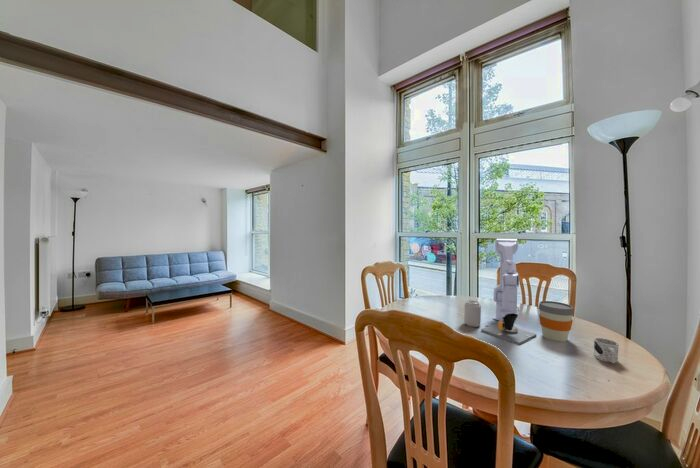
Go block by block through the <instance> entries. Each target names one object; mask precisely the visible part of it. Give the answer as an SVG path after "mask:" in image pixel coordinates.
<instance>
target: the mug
mask: <svg viewBox="0 0 700 468" xmlns="http://www.w3.org/2000/svg"><path fill="white" fill-rule="evenodd" d="M593 342H594V343H593V357H594V358H595V359H597V360H600V361H602V360H603V361H602V362H605V361H607V362H606V363H609V362H611V363H610V364H616V363H615V362H617V363H619V343H618V342H617V341H614V340H611V339H607V338H603V337H595V338H594V341H593Z"/></svg>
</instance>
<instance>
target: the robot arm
mask: <svg viewBox="0 0 700 468" xmlns="http://www.w3.org/2000/svg"><path fill="white" fill-rule="evenodd" d="M494 247H495V253H496V254H498V255H499V259H500V261H499V263H500V266H499V284H497V285H496V286H494V288H493V301H494V302H495V306H496V307H495V316H493V317H492V319H493V320H496V321H498V322H499V321H503V320H504V323H505V327H506V329H508V330H512V328H513V326H515V325H514V324H515V321H517V318H518V316H519V314H518V312H519V311H520V307H519V306H518V287H519V285H520V277H519V273H518V272H517V265H516V263H515V262H514V261H513V258H514V255H515V254H516V253H517V251H518V248H519V240H518V239H517V238H495V245H494Z"/></svg>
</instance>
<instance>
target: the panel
mask: <svg viewBox="0 0 700 468" xmlns="http://www.w3.org/2000/svg"><path fill="white" fill-rule="evenodd" d="M480 332H482V333H485V334H487V335H490V336H493V337H495V338H499V339H501V340H504V341H508V342H510V343H514V344H516V345H518V346H521V345H522V344H524V343H526V342H528V341H530V340H532V339H534V338H536V337H537V333H533V332H530V331H527V330H524V329H521V328H518V332H517V333H508V332H505V331H501V330H498V322H496V323H494V324H490V325H489V326H486V327H483V328H481V329H480Z"/></svg>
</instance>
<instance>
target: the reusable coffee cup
mask: <svg viewBox="0 0 700 468" xmlns="http://www.w3.org/2000/svg"><path fill="white" fill-rule="evenodd" d="M538 310H539V314H538V317H539V324H540V326H541V333H542V337H544V338H546V339H547V340H550V341H556V342H562V343H563V342H567V341H568V339H569V338H568V337H569V333H570V331H572V325H573V316H574V306H572V305H570V304H567V303H563V302H560V301H553V300H543V301H539V303H538Z"/></svg>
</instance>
